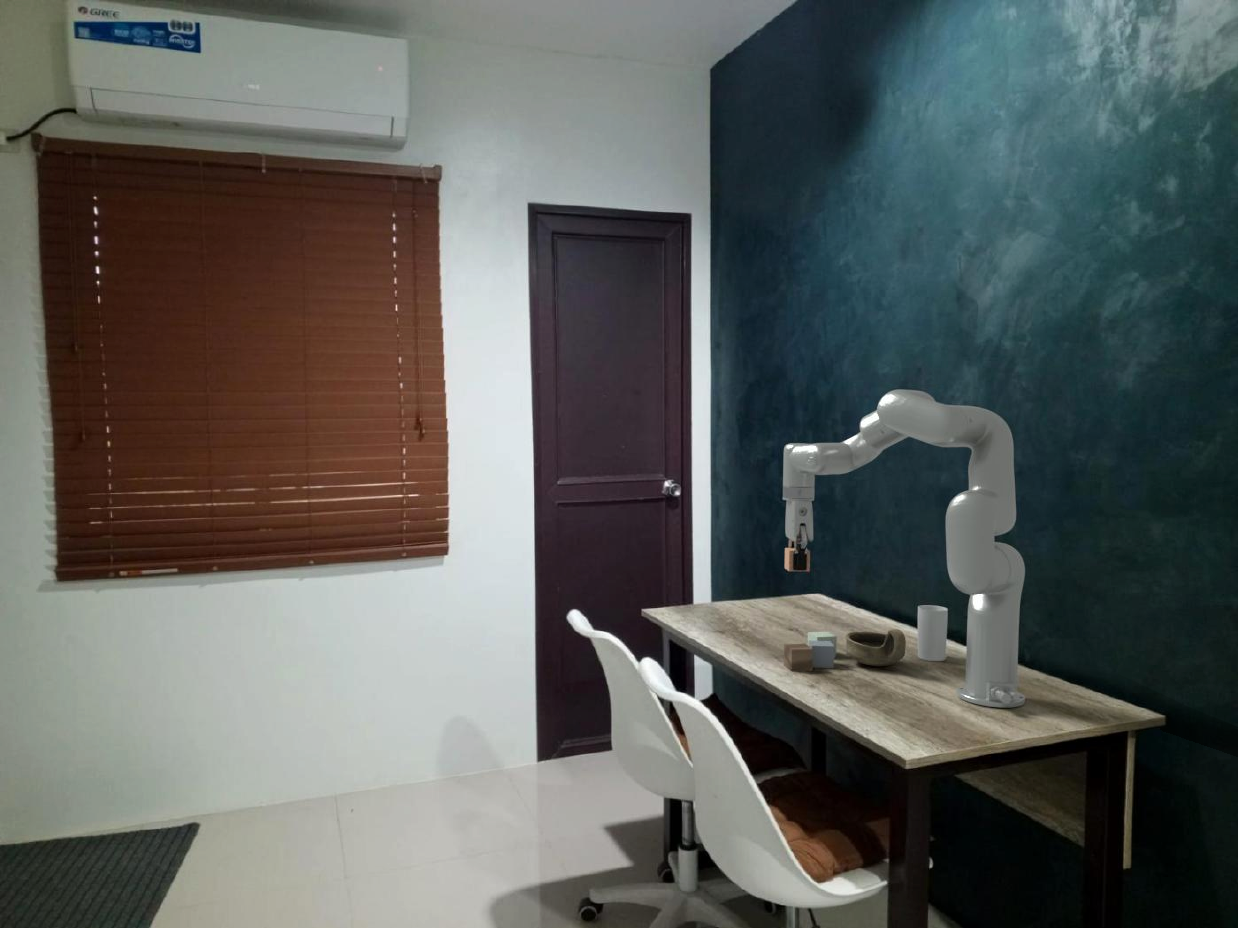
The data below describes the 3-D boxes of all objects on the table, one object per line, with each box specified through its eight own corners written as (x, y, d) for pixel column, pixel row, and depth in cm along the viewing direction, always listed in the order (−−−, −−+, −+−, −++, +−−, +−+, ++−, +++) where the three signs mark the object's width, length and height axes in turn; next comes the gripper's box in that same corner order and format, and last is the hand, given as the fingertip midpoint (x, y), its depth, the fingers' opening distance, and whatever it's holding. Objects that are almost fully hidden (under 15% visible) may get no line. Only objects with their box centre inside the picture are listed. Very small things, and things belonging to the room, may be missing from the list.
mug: (951, 661, 203) (953, 610, 203) (924, 662, 202) (926, 611, 202) (931, 650, 213) (932, 602, 213) (905, 651, 212) (906, 602, 212)
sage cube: (836, 656, 206) (836, 636, 206) (816, 657, 205) (817, 637, 205) (826, 651, 211) (826, 631, 211) (807, 652, 210) (807, 632, 210)
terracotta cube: (809, 571, 209) (810, 550, 208) (788, 571, 208) (789, 550, 208) (804, 568, 214) (805, 548, 213) (784, 567, 213) (784, 547, 213)
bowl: (883, 654, 208) (885, 613, 208) (927, 675, 191) (928, 630, 191) (832, 657, 205) (833, 616, 205) (872, 678, 188) (873, 633, 188)
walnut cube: (812, 670, 194) (813, 648, 193) (791, 671, 193) (791, 649, 193) (804, 664, 199) (804, 643, 198) (783, 665, 198) (784, 643, 198)
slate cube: (833, 668, 196) (834, 646, 196) (811, 667, 197) (812, 645, 196) (830, 662, 201) (830, 641, 201) (808, 661, 202) (808, 640, 201)
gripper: (822, 496, 202) (821, 574, 203) (805, 491, 219) (804, 563, 220) (790, 496, 202) (789, 573, 202) (775, 491, 219) (774, 562, 219)
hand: (797, 567), depth 211 cm, fingers closed on terracotta cube, 5 cm apart
